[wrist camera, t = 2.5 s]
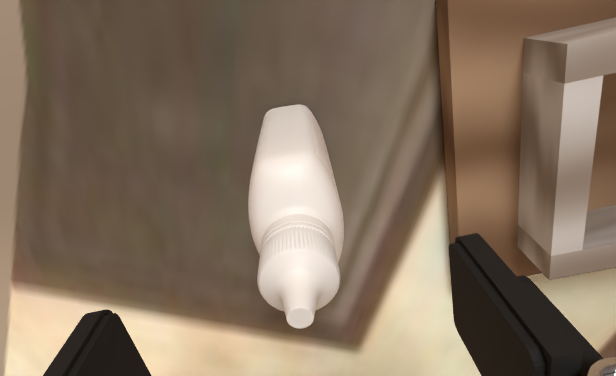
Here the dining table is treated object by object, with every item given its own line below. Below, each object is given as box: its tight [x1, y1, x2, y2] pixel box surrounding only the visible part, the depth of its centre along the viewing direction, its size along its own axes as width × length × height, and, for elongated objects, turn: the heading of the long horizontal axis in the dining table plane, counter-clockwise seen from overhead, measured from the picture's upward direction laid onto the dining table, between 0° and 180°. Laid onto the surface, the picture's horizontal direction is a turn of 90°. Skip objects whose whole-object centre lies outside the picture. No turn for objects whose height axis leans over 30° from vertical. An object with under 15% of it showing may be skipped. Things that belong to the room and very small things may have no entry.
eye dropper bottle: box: [248, 104, 344, 329], centre depth 15 cm, size 4×6×12 cm
